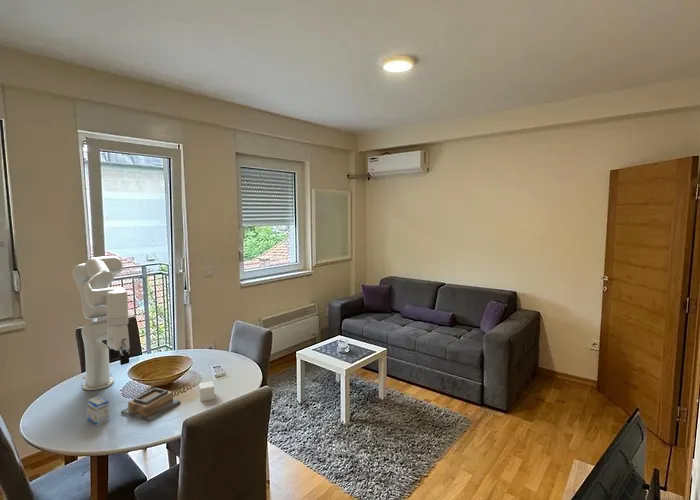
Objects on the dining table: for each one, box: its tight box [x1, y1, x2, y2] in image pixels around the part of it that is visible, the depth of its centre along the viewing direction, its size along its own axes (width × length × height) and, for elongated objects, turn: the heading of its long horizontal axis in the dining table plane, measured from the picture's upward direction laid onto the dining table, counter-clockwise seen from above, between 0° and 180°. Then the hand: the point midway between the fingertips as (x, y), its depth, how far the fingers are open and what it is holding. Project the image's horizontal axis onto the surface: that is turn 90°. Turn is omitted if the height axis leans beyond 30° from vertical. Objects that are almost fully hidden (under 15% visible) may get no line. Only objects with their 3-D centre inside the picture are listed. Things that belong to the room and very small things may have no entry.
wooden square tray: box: [120, 387, 181, 422], centre depth 163 cm, size 16×16×6 cm
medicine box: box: [86, 395, 110, 426], centre depth 153 cm, size 8×4×9 cm, turn 62°
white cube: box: [198, 380, 215, 402], centre depth 173 cm, size 6×6×6 cm
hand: (119, 361), depth 155 cm, fingers open, 9 cm apart
